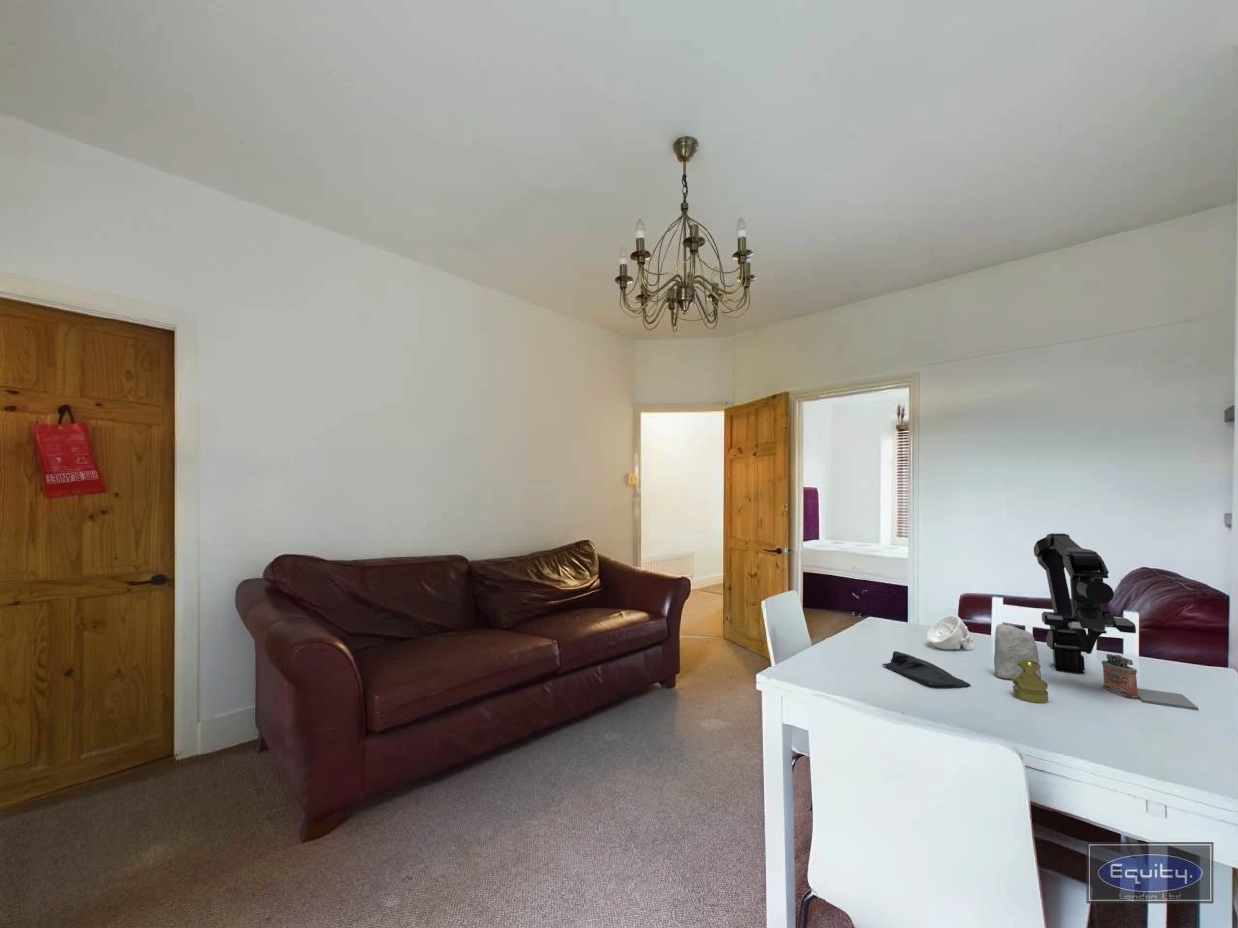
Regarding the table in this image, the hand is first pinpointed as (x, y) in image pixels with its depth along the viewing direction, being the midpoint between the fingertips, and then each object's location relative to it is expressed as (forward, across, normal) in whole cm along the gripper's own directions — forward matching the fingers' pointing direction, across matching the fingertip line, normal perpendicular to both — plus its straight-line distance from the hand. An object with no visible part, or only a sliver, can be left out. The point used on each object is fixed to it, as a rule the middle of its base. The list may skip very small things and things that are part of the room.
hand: (1088, 653), depth 142 cm
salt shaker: (+10, -15, -15) cm, 23 cm away
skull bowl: (+10, -32, +26) cm, 42 cm away
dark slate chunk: (+10, -39, -9) cm, 42 cm away
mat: (+10, +14, 0) cm, 17 cm away
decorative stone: (+10, -16, +1) cm, 19 cm away
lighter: (+10, +6, 0) cm, 12 cm away
